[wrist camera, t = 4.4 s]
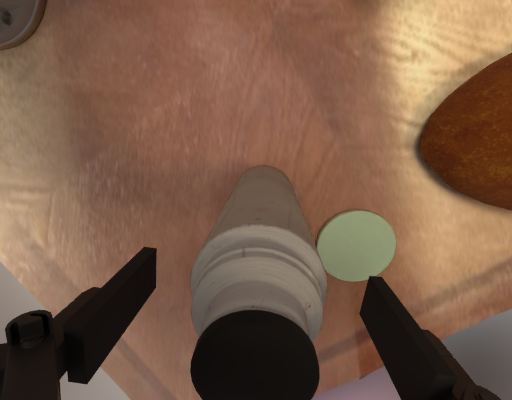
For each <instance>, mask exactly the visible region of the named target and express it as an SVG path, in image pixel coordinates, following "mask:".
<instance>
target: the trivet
mask: <svg viewBox="0 0 512 400" xmlns="http://www.w3.org/2000/svg"><path fill="white" fill-rule="evenodd" d="M316 248H317V251H318V253H319V256H320V258H321V261H322V263H323V266H324V269H325V270H326V271H327V272H328V273H329V274H330V275H332V276H334V277H335V278H338V279H340V280H344V281H351V282H356V281H363V280H367V279H369V276H376V275H378V274H379V273H381V272H382V271H383V270H384V269H385V268H386V267H387V266H388V265H389V263H390V262H391V260H392V258H393V256H394V253H395V248H396V238H395V234H394V232H393V229H392V228H391V226H390V225H389V224H388V222H387V221H386V220H384V219H383V218H382V217H381V216H379V215H378V214H376V213H374V212H371V211H367V210H360V209H356V210H348V211H345V212H342V213H340V214H337V215H336V216H334V217H333V218H331V219H330V220H329V221H328V222H327V223H326V224H325V225H324V226H323V228H322V229H321V231H320V233H319V235H318V238H317V243H316Z"/></svg>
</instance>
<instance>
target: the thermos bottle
mask: <svg viewBox="0 0 512 400" xmlns="http://www.w3.org/2000/svg"><path fill="white" fill-rule="evenodd" d="M190 287H191V294H192V308H191V315H192V321H193V325H194V327H195V330H196V332H197V334H198V336H199V339H198V341H197V344H196V347H195V350H194V353H193V356H192V360H191V370H190V372H191V378H192V382H193V385H194V387H195V389H196V391H197V393H198V394H199V395H200V397H201V398H202V400H311V399H312V398H313V396H314V394H315V392H316V390H317V387H318V383H319V364H318V359H317V355H316V351H315V348H314V345H313V342H314V341H315V340H316V337H317V335H318V333H319V331H320V328H321V324H322V320H323V308H322V307H323V305H324V303H325V298H326V294H327V278H326V274H325V269H324V266H323V263H322V261H321V258H320V256H319V253H318V251H317V248H316V246H315V243H314V241H313V238H312V236H311V233H310V231H309V228H308V226H307V223H306V221H305V218H304V216H303V213H302V211H301V208H300V206H299V204H298V202H297V200H296V196H295V193H294V191H293V188H292V186H291V183H290V181H289V179H288V178H287V176H286V175H285V174H284V173H283V172H282V171H280V170H278V169H277V168H274V167H271V166H257V167H253V168H251V169H249V170H247V171H246V172H245V173H244V174H243V175H242V176H241V177H240V179H239V180H238V182H237V184H236V186H235V188H234V190H233V191H232V193H231V195H230V197H229V199H228V202H227V203H226V205H225V206H224V208H223V210H222V212H221V214H220V215H219V217H218V219H217V221H216V223H215V225H214V226H213V228H212V230H211V232H210V234H209V236H208V238H207V239H206V241H205V243H204V245H203V247H202V249H201V250H200V252H199V254H198V256H197V258H196V260H195V262H194V265H193V268H192V272H191V282H190Z"/></svg>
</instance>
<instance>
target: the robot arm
mask: <svg viewBox="0 0 512 400" xmlns="http://www.w3.org/2000/svg"><path fill="white" fill-rule="evenodd" d="M45 3H46V0H0V49H6V48H11V47H14V46H16V45H19V44H21V43H22V42H24V41H25V40H26V39H28V38H29V37H30V36H31V35H32V34H33V32H34V31H35V30H36V28H37V27H38V25H39V23H40V21H41V19H42V16H43V13H44V9H45ZM156 252H157V248H149V247H144V248H143V249H142V250H140V251H139V252H138V253H137V254H136V255H135V256H134V257H133V258H132V259H131V260H130V261H129V262H128V263H127V264H126V265H125V266H124V267H123V268H122V269H121V270H120V271H118V272H117V273H116V274H115V275H114V276H113V277H112V278H111V279H110V280H109V281H108V282H107V283H106V284H105V285H104V286H103V287H102V288H96V287H92V288H90V289H89V290H87V291H85V292H83V293H81V294H80V295H79V296H78V297H77V298H76V299H75V300H74V301H72V302H71V303H70V304H69V305H68V306H67V307H65V308H64V309H63V310H62V311H61V312H60V313H59V314H57V315H56V316H55V317H54V318H53V317H52V314H51V312H48V311H46V310H36V311H30V312H27V313H24V314H21V315H20V316H18V317H16V318H14V319H13V320H12V321H10V322H9V323H8V324H7V326H6V328H5V332H6V337H7V343H4V344H0V400H61V395H60V381H59V380H60V379H61V377H62V376H63V375H64V374H65V373H66V371H67V372H68V382H75V383H82V384H88V382H89V381H90V379H91V378H92V377H93V375H94V374H95V372H96V371H97V370H98V368H99V367H100V365H101V364H102V363H103V361H104V360H105V358H106V357H107V356H108V354H109V353H110V351H111V350H112V349H113V347H114V346H115V344H116V343H117V342H118V340H119V339H120V337H121V336H122V334H123V333H124V332H125V330H126V329H127V327H128V326H129V325H130V323H131V322H132V320H133V319H134V318H135V316H136V315H137V313H138V312H139V311H140V309H141V308H142V306H143V305H144V303H145V302H146V301H147V299H148V298H149V296H150V295H151V294H152V292H153V291H154V289H155V288H156ZM360 316H361V318H362V320H363V322H364V324H365V326H366V328H367V330H368V332H369V334H370V336H371V339H372V341H373V343H374V345H375V347H376V349H377V351H378V353H379V355H380V357H381V359H382V361H383V363H384V365H385V367H386V369H387V371H388V373H389V375H390V378H391V380H392V381H393V384H394V386H395V388H396V390H397V392H398V394H399V396H400V398H401V400H501V399H500V398H499V397H497V395H495V394H494V393H492V392H490V391H489V390H487V389H485V388H483V387H481V386H477V385H476V384H475V383H474V382H473V380H472V379H471V378H470V377H469V375H468V374H467V373H466V372H465V371H464V369H463V368H462V367H461V366H460V364H459V363H458V362H457V361H456V359H455V358H453V356H452V354H451V353H450V352H449V351H448V350H447V349H446V347H445V346H444V345H443V344H442V342H441V341H440V340H439V339H438V338H437V337H436V336H435V335H434V334H432V333H431V332H430V331H429V330H423V329H421V328H420V327H419V325H418V324H417V323H416V321H415V320H414V319H413V318H412V316H411V315H410V314H409V312H408V311H407V310H406V308H405V307H404V306H403V304H402V303H401V302H400V300H399V299H398V298H397V296H396V295H395V294H394V292H393V291H392V290H391V288H390V287H389V286H388V285H387V283H386V282H385V281H384V279H383V278H382V277H376V276H369V279H368V283H367V287H366V291H365V295H364V298H363V302H362V306H361V310H360Z"/></svg>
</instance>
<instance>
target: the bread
mask: <svg viewBox="0 0 512 400" xmlns="http://www.w3.org/2000/svg"><path fill="white" fill-rule="evenodd" d="M420 149H421V151H422V153H423V156H424V158H425V160H426V162H427V163H428V164H429V165H430V166H431V167H432V168H433V169H434V170H435V172H436V173H437V174H438V175H439V176H440V177H441V178H442V179H443V181H445V182H446V183H448V184H449V185H450V186H452V187H453V188H455V189H456V190H457V191H459V192H461V193H464V194H466V195H468V196H470V197H472V198H475V199H477V200H479V201H481V202H483V203H486V204H489V205H493V206H497V207H500V208H504V209H508V210H511V211H512V53H511V54H509V55H507V56H505V57H503V58H501V59H499V60H497V61H496V62H494V63H492V64H490V65H489V66H487V67H486V68H484V69H483V70H482V71H480V72H479V73H477V74H476V75H474V76H473V77H471V78H470V79H469V80H467V81H466V82H465V83H464V84H463V85H461V86H460V87H459V88H458V89H457V90H455V91H454V92H453V93H452V94H451V95H449V96H448V97H447V98H446V100H445V101H444V102H443V103H442V104H441V105H440V106H439V107H438V109H437V110H436V111H435V112H434V113H433V114H432V115H431V116H430V119H429V121H428V123H427V125H426V128H425V130H424V132H423V134H422V136H421V142H420Z"/></svg>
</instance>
